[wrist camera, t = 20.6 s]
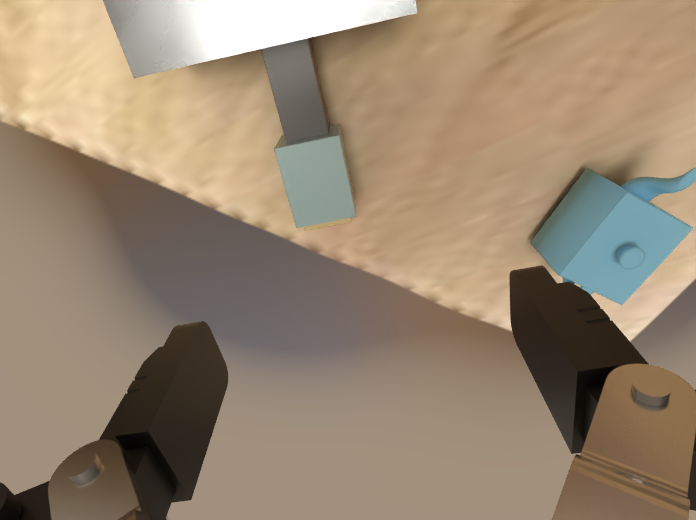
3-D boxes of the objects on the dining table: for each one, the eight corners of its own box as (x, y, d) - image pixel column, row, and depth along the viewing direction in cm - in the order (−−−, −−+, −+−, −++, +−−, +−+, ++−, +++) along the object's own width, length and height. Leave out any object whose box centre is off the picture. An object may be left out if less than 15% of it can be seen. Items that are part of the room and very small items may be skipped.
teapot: (610, 124, 34) (676, 149, 27) (669, 159, 35) (746, 191, 28) (515, 251, 39) (551, 299, 32) (570, 278, 40) (616, 328, 33)
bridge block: (388, -55, 28) (406, -86, 20) (397, 16, 30) (417, 13, 22) (164, 0, 30) (99, -10, 22) (186, 64, 31) (133, 78, 23)
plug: (219, -90, 27) (201, -107, 24) (290, -109, 27) (282, -129, 23) (302, 215, 37) (298, 235, 33) (356, 204, 36) (357, 223, 33)
